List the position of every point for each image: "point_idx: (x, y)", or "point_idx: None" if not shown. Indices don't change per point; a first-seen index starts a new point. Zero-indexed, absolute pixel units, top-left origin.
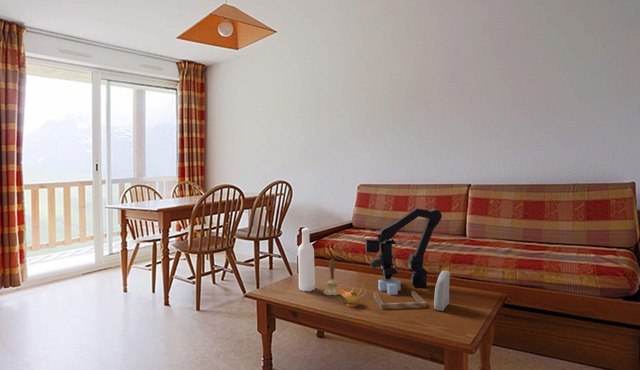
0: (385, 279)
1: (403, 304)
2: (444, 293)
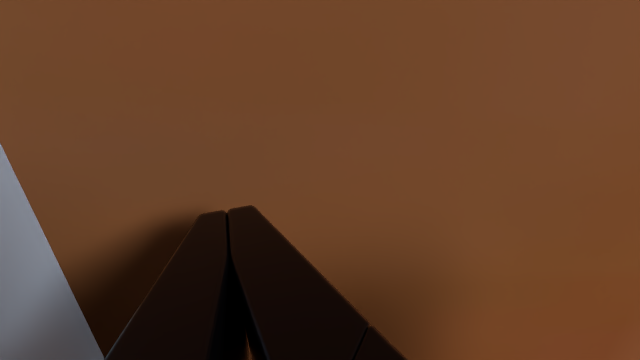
0: (129, 326)
1: None
2: None
